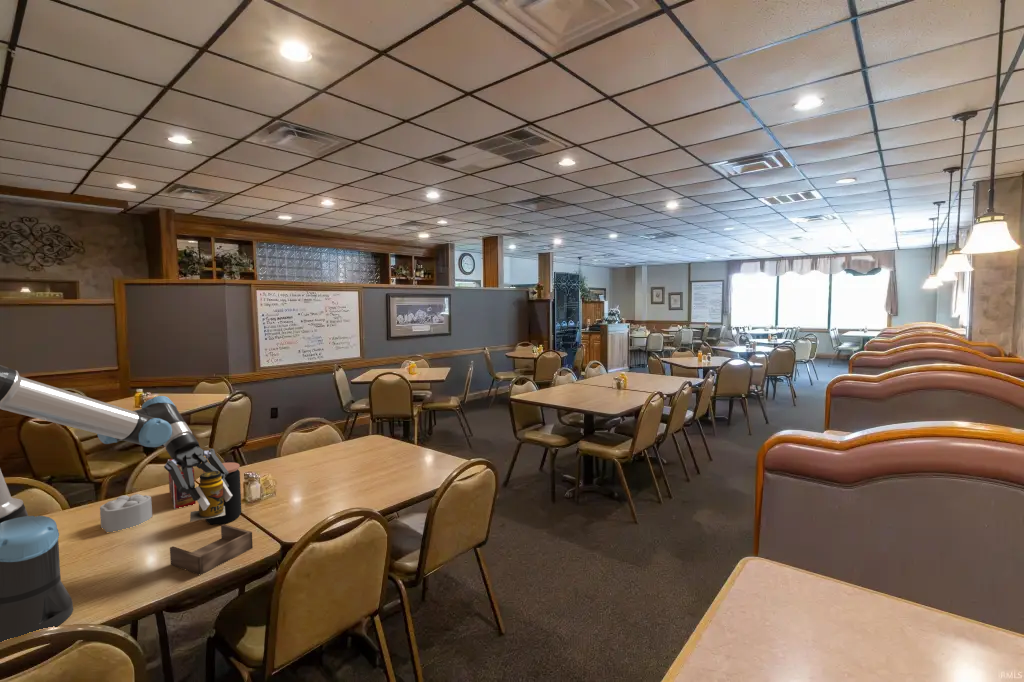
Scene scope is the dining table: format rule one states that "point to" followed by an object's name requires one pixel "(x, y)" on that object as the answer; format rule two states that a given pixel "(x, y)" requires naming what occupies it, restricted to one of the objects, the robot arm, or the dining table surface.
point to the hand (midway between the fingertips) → (218, 502)
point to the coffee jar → (235, 501)
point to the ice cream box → (178, 497)
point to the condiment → (210, 496)
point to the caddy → (213, 551)
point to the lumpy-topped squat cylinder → (125, 512)
